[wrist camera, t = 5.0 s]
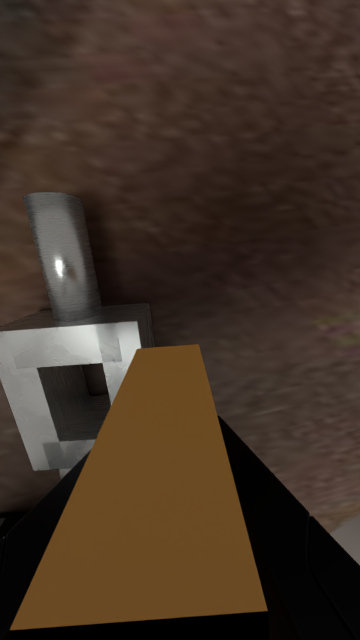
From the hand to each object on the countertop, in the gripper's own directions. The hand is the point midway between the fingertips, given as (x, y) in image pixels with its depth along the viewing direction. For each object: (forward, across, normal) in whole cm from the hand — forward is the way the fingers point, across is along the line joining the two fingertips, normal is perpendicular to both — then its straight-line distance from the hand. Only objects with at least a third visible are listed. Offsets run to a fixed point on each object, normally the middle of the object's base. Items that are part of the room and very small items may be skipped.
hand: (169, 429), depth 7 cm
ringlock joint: (+11, +6, +3) cm, 13 cm away
